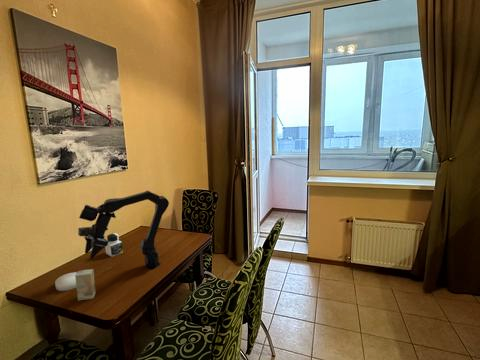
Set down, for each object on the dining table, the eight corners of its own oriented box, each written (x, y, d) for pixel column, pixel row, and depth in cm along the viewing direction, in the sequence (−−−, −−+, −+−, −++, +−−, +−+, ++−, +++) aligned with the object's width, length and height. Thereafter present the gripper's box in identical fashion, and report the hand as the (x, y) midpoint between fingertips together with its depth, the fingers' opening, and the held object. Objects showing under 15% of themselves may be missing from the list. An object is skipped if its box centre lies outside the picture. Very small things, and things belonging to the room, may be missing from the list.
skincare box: (77, 301, 112) (73, 275, 110) (80, 295, 116) (77, 270, 114) (94, 298, 114) (90, 273, 111) (96, 292, 118) (93, 268, 115)
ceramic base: (88, 280, 128) (87, 274, 127) (66, 293, 118) (65, 287, 117) (72, 275, 132) (72, 270, 131) (50, 288, 122) (49, 282, 121)
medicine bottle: (111, 257, 151) (109, 238, 149) (105, 253, 156) (103, 235, 153) (123, 252, 157) (121, 234, 155) (117, 249, 161) (115, 231, 159)
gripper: (79, 216, 127) (65, 247, 124) (89, 223, 113) (74, 258, 110) (102, 222, 134) (90, 251, 131) (114, 229, 121) (100, 262, 117)
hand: (88, 255), depth 122 cm, fingers open, 9 cm apart
